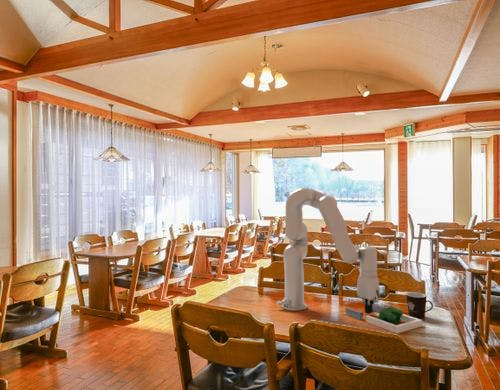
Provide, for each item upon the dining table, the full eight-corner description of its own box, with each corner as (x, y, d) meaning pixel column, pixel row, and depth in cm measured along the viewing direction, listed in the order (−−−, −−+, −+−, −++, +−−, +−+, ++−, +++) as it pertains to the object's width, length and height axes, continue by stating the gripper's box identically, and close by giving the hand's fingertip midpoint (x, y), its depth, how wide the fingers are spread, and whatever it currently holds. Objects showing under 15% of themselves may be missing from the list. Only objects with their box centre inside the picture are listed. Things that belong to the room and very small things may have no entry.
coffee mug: (402, 314, 170) (402, 292, 170) (420, 313, 171) (420, 292, 171) (416, 322, 159) (415, 299, 159) (434, 321, 159) (434, 298, 159)
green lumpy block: (390, 336, 155) (391, 320, 151) (377, 329, 159) (377, 313, 155) (403, 319, 162) (404, 304, 158) (391, 313, 166) (391, 298, 162)
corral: (397, 333, 146) (397, 327, 146) (366, 321, 160) (366, 316, 160) (422, 326, 154) (422, 320, 154) (390, 315, 168) (390, 310, 168)
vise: (360, 320, 162) (360, 313, 163) (345, 314, 170) (345, 308, 170) (393, 311, 174) (393, 305, 174) (378, 306, 182) (378, 300, 182)
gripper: (350, 271, 174) (350, 309, 174) (375, 277, 161) (375, 318, 161) (362, 269, 177) (362, 307, 177) (387, 275, 164) (387, 316, 164)
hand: (368, 312), depth 169 cm, fingers closed
